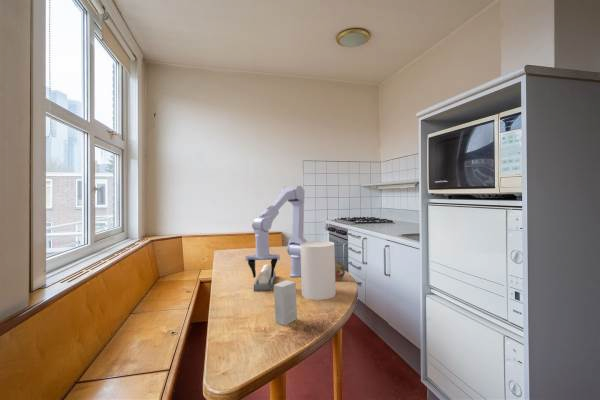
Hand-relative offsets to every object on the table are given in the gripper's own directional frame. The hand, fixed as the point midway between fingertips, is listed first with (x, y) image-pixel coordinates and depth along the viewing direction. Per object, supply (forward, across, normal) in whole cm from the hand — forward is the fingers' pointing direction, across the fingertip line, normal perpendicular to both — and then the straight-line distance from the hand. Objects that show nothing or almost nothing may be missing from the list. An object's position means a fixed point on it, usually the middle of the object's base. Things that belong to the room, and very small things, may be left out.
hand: (263, 276), depth 123 cm
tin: (+5, +29, +9) cm, 31 cm away
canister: (+5, +23, -9) cm, 25 cm away
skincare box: (+5, +11, -33) cm, 35 cm away
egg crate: (+5, 0, +7) cm, 8 cm away
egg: (+4, 0, 0) cm, 4 cm away
